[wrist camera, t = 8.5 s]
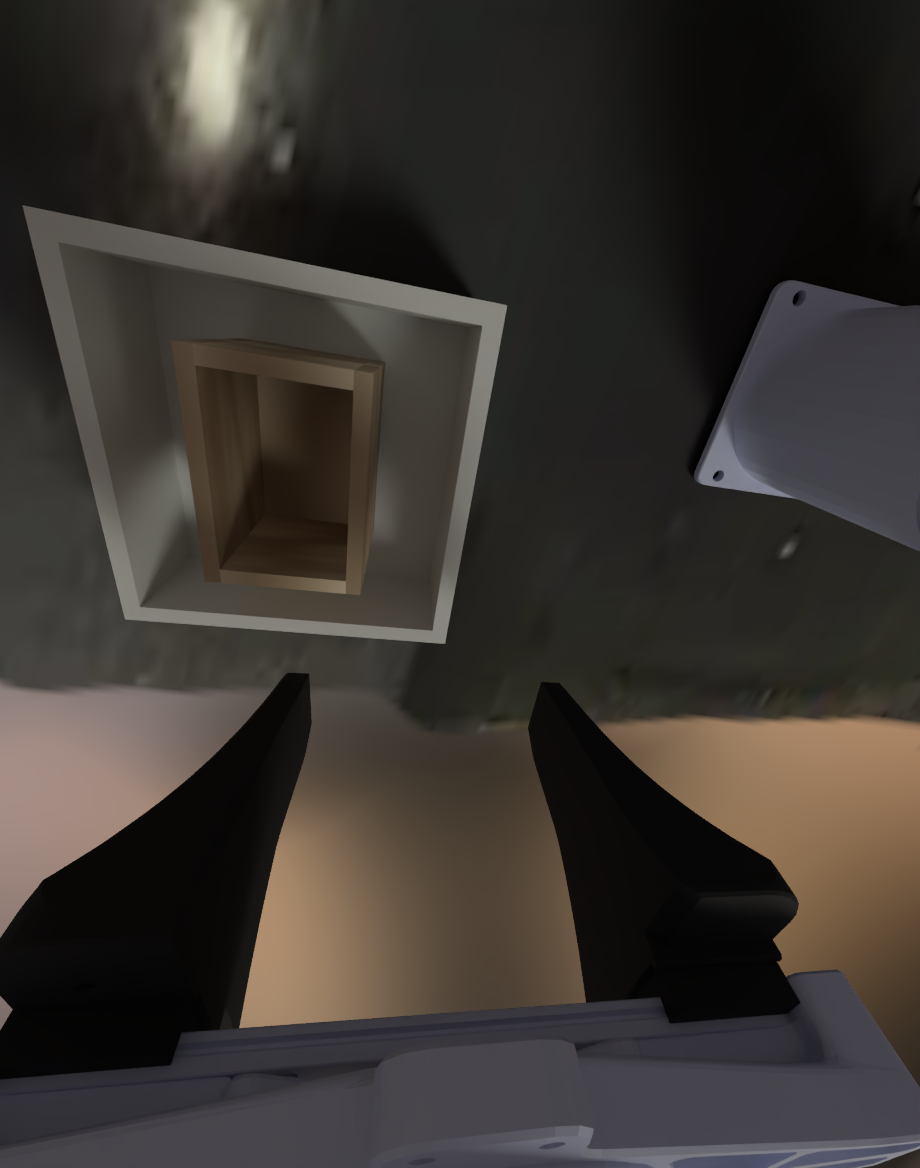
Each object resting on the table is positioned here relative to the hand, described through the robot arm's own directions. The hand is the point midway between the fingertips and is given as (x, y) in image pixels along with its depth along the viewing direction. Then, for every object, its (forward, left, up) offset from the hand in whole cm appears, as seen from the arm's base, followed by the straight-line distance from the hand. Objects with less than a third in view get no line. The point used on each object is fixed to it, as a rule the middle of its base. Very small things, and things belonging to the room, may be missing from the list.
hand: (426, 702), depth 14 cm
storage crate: (+5, -5, -9) cm, 12 cm away
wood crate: (+5, -5, -9) cm, 11 cm away
